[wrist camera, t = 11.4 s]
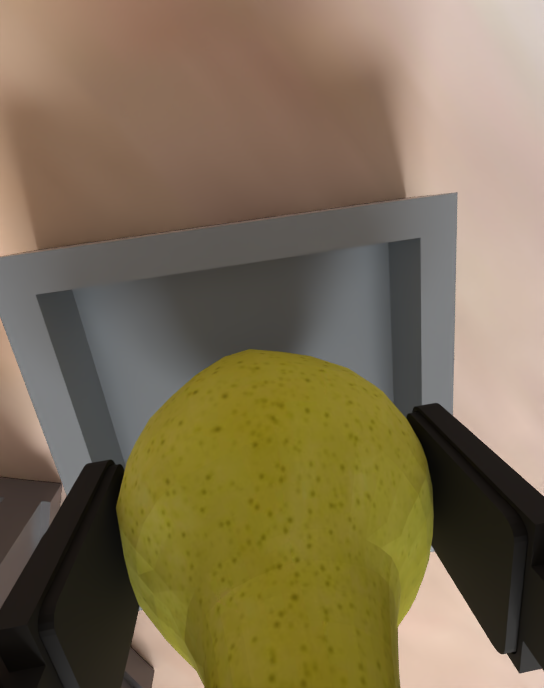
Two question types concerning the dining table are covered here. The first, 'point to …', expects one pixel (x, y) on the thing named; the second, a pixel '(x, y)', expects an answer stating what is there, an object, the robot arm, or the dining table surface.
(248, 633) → the fruit
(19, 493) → the clip
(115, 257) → the grey square tray
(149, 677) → the clip
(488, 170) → the dining table surface
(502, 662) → the dining table surface
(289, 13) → the dining table surface
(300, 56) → the dining table surface
